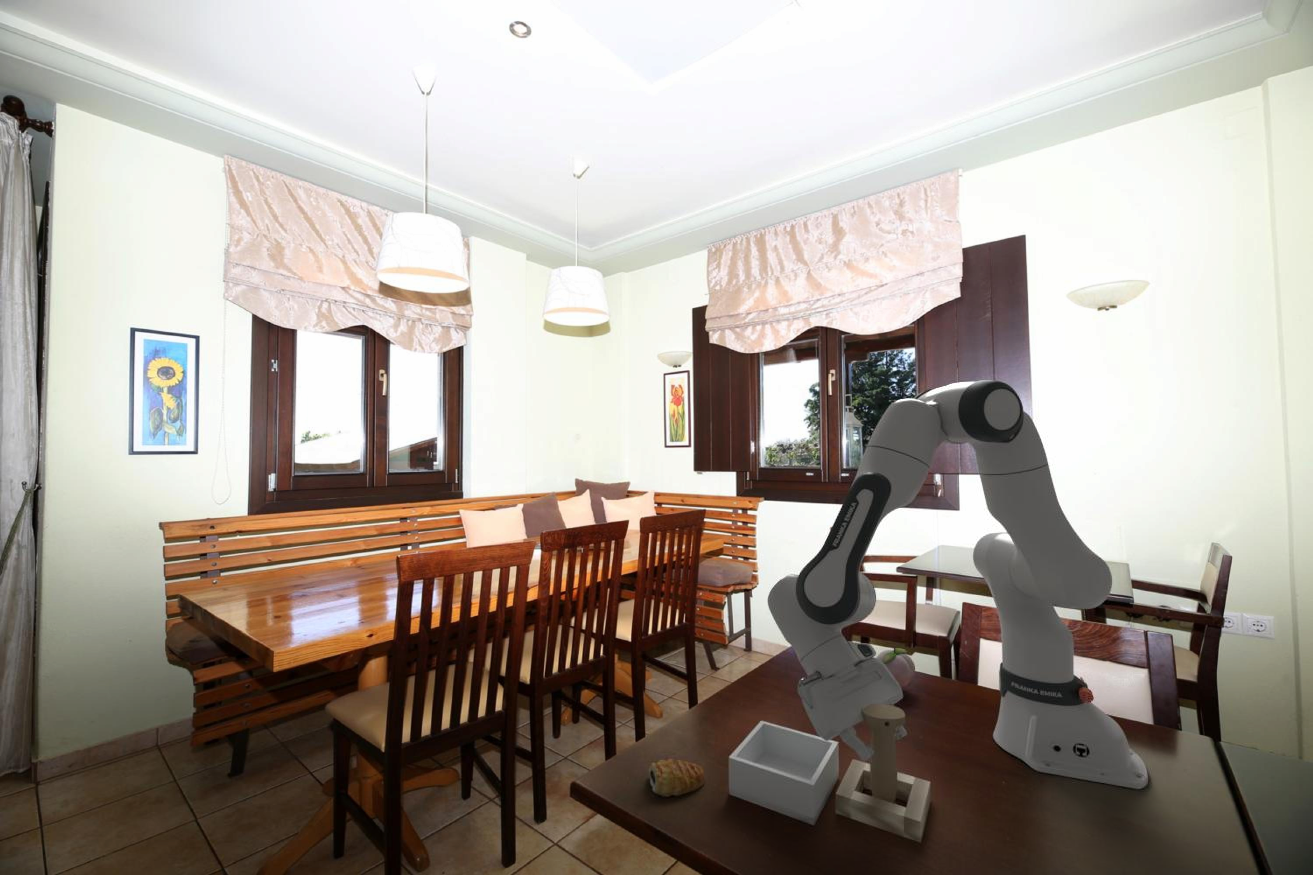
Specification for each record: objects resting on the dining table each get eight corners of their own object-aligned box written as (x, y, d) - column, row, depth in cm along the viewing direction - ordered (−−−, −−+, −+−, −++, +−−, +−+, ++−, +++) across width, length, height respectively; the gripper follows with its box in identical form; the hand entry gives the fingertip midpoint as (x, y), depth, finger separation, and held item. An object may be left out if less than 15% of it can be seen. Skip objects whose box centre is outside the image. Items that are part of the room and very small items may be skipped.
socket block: (930, 800, 89) (930, 781, 89) (920, 842, 80) (920, 821, 80) (853, 776, 95) (852, 758, 95) (835, 812, 86) (835, 793, 86)
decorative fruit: (883, 678, 134) (883, 637, 134) (919, 688, 128) (919, 645, 128) (867, 691, 127) (867, 647, 127) (904, 703, 122) (904, 657, 122)
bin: (838, 777, 95) (838, 742, 95) (814, 825, 84) (813, 785, 84) (761, 752, 103) (761, 720, 103) (729, 793, 91) (728, 757, 91)
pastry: (697, 769, 98) (697, 747, 98) (710, 792, 92) (710, 769, 92) (646, 777, 96) (645, 755, 96) (655, 802, 90) (655, 778, 90)
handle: (910, 818, 85) (909, 719, 85) (866, 815, 86) (865, 717, 86) (900, 798, 90) (899, 704, 90) (859, 795, 90) (858, 702, 90)
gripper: (803, 672, 87) (860, 763, 79) (876, 642, 99) (932, 718, 92) (781, 690, 91) (834, 779, 83) (854, 659, 103) (906, 734, 95)
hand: (886, 747), depth 87 cm, fingers open, 8 cm apart
